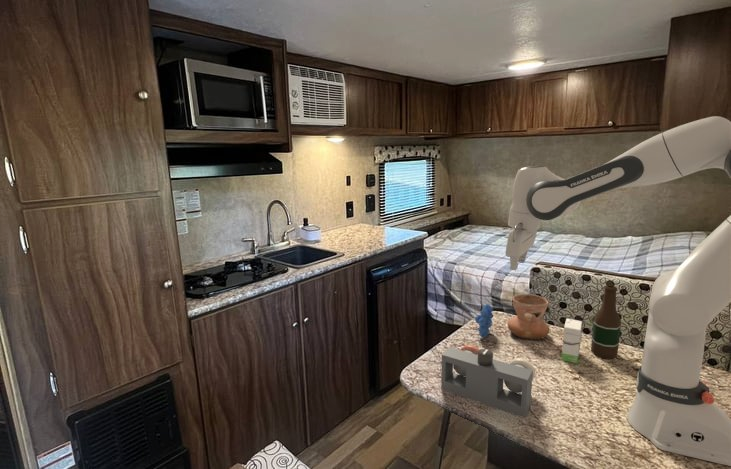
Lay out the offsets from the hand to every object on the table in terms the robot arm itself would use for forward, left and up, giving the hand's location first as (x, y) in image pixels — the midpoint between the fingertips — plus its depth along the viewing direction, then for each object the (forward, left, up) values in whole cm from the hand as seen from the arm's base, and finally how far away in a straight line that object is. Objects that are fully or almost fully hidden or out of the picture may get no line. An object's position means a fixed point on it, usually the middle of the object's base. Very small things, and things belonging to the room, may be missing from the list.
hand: (517, 265), depth 118 cm
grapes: (+16, -18, -34) cm, 42 cm away
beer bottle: (-23, -26, -34) cm, 49 cm away
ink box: (-14, -18, -34) cm, 42 cm away
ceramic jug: (+2, -28, -34) cm, 45 cm away
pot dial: (+2, +20, -23) cm, 31 cm away
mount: (+2, +20, -34) cm, 40 cm away
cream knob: (-5, +14, -32) cm, 35 cm away
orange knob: (+10, +14, -32) cm, 36 cm away
